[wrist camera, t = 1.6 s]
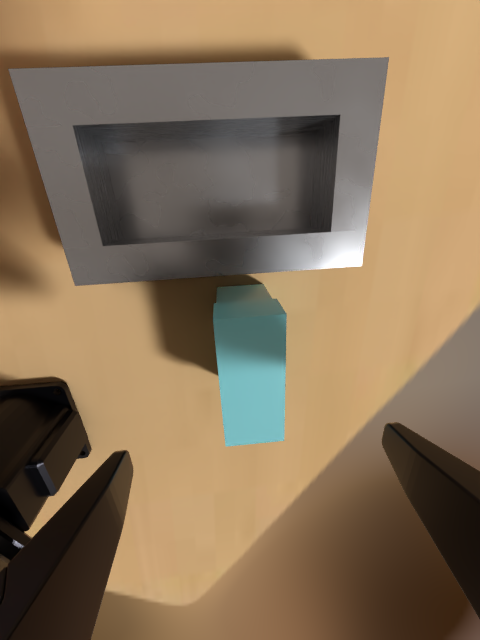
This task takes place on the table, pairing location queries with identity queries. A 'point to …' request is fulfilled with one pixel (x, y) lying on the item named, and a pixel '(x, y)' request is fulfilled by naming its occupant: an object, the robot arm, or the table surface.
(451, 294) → the table surface
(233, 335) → the light blue rectangular block
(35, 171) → the table surface
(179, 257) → the grey slotted tray
